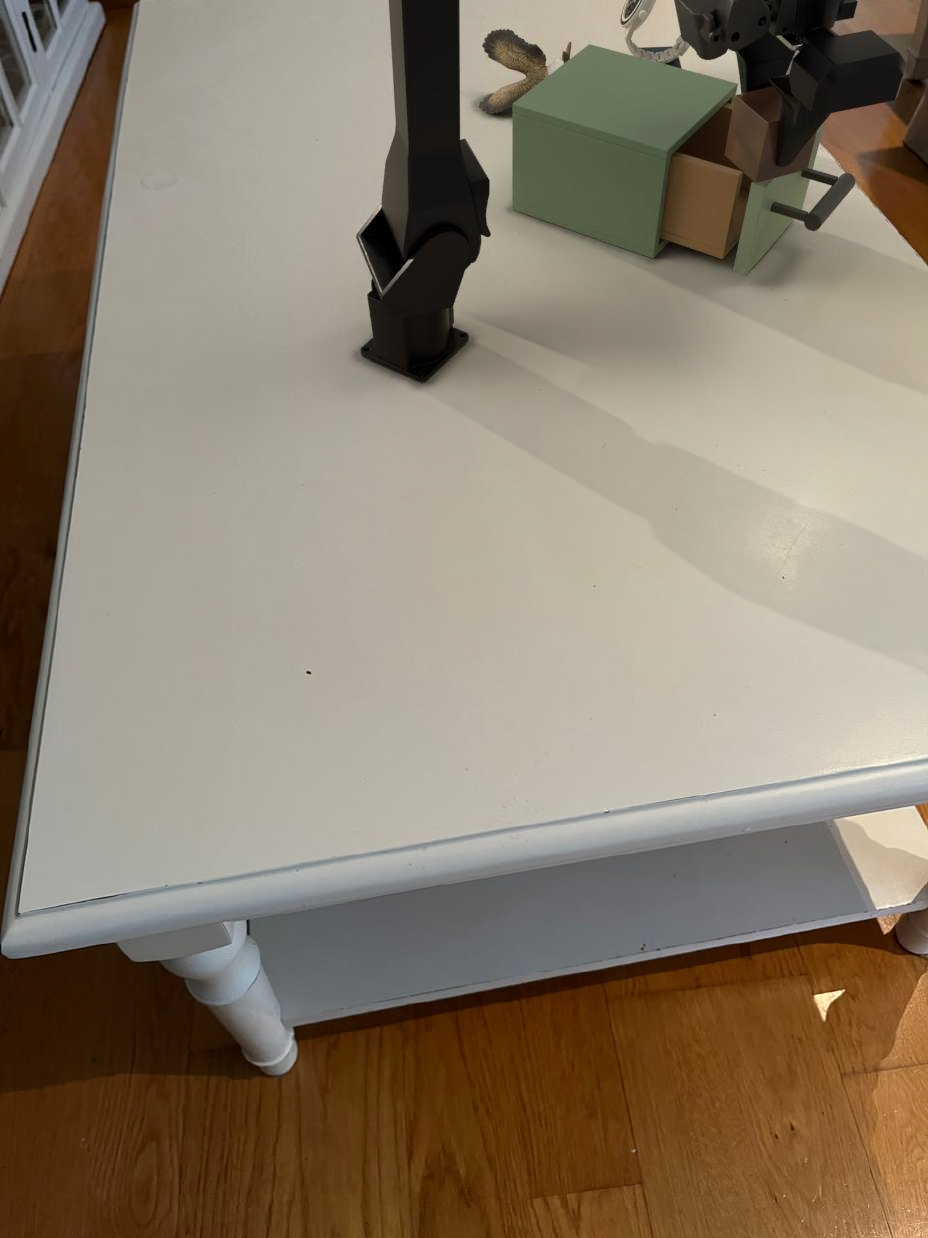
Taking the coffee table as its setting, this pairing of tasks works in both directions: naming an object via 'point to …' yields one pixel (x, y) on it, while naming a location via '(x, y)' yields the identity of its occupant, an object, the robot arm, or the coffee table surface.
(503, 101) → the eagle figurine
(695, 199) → the drawer
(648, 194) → the cabinet
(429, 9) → the robot arm
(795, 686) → the coffee table surface
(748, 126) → the block
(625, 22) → the watch
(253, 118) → the coffee table surface
